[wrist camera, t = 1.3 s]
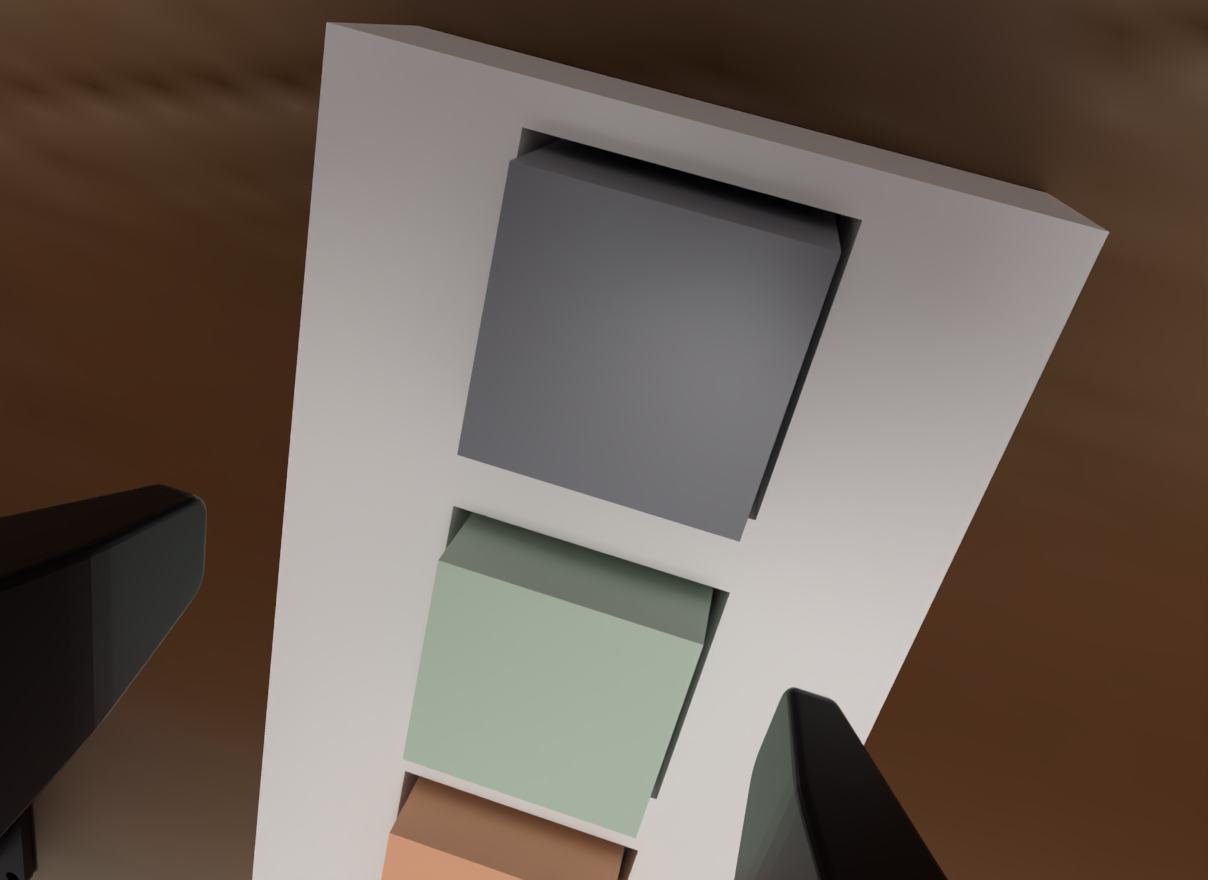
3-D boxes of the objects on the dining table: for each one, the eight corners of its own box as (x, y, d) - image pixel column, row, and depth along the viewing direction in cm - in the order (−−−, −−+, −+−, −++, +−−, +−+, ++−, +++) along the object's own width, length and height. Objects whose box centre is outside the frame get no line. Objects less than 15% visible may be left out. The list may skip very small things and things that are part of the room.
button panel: (722, 932, 27) (709, 1067, 24) (320, 793, 28) (250, 902, 25) (1047, 193, 18) (1109, 232, 14) (418, 26, 19) (326, 22, 15)
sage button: (661, 719, 22) (635, 838, 19) (461, 654, 23) (402, 759, 19) (720, 544, 20) (703, 645, 17) (497, 476, 20) (438, 560, 17)
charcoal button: (751, 454, 19) (739, 541, 16) (516, 384, 19) (456, 454, 16) (834, 211, 17) (840, 252, 13) (567, 137, 17) (509, 161, 14)
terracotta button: (594, 917, 26) (562, 1048, 22) (420, 856, 26) (363, 976, 23) (638, 786, 23) (610, 910, 20) (447, 722, 24) (389, 833, 20)
